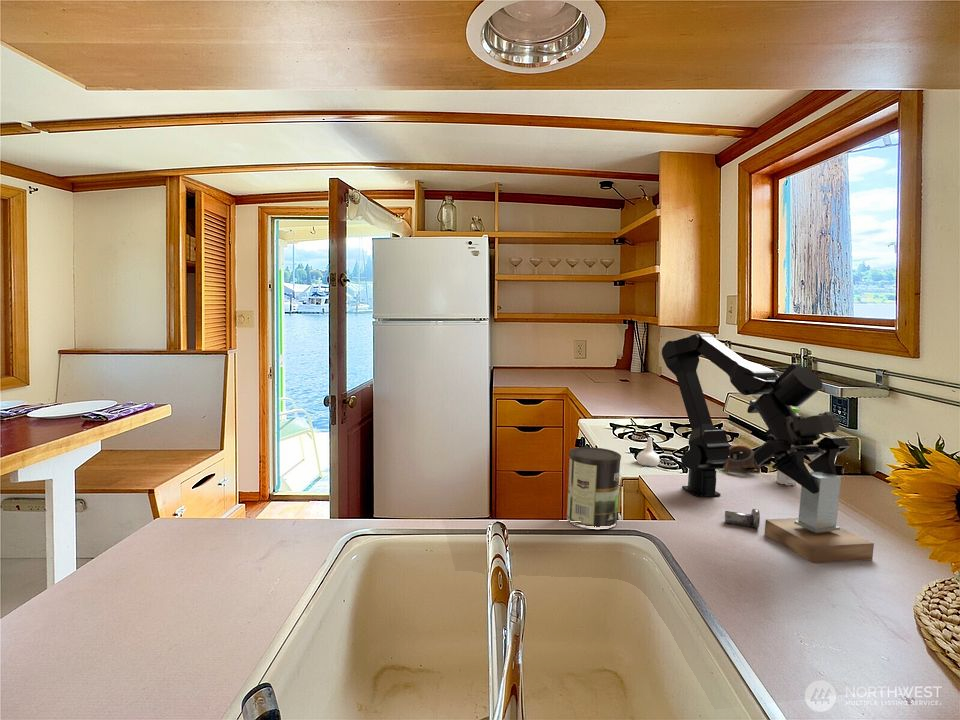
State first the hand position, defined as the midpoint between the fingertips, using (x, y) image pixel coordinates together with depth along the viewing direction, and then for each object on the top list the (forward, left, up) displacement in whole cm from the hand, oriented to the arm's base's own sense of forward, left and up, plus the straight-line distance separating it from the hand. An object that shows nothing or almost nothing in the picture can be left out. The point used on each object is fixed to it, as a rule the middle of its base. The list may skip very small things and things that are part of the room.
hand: (827, 491), depth 94 cm
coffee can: (-17, -38, -11) cm, 43 cm away
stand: (-1, 0, -11) cm, 11 cm away
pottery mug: (-48, +19, -11) cm, 53 cm away
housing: (-1, 0, -7) cm, 7 cm away
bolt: (-12, -8, -11) cm, 18 cm away
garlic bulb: (-56, -5, -11) cm, 57 cm away
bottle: (-36, +24, -11) cm, 45 cm away
